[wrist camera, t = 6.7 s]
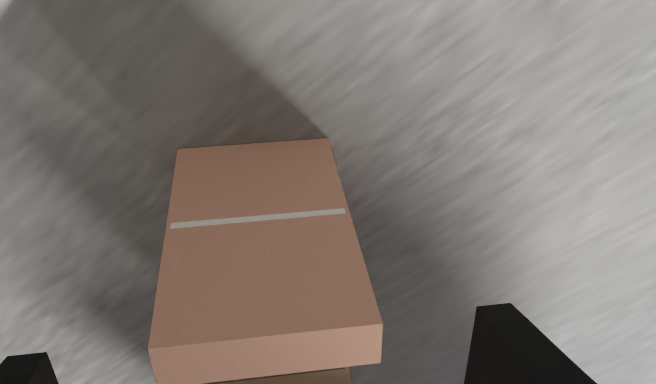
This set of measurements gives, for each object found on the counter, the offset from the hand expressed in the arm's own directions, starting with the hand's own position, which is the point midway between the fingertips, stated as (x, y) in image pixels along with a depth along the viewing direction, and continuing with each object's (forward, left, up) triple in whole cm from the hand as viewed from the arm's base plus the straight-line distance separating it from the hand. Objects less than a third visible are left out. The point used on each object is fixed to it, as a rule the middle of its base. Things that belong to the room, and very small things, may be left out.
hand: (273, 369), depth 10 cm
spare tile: (0, 0, -7) cm, 7 cm away
